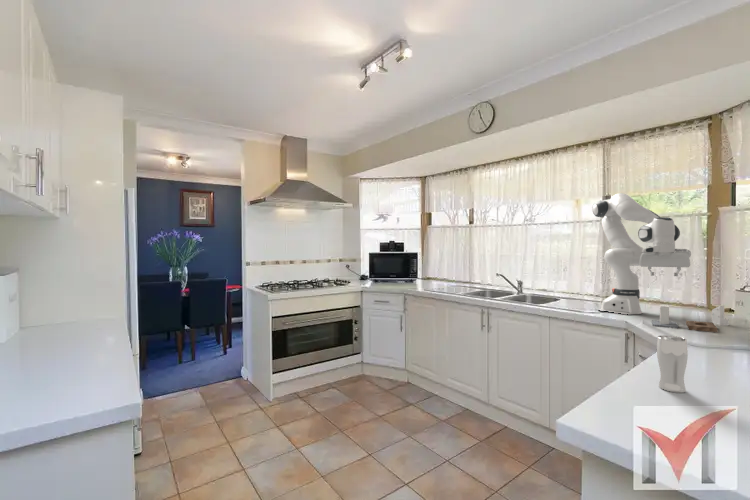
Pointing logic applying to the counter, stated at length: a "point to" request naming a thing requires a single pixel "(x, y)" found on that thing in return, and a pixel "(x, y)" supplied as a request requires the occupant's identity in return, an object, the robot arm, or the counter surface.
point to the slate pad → (671, 324)
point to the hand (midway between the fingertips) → (664, 275)
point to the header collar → (701, 326)
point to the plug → (664, 314)
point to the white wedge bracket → (719, 316)
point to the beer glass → (672, 362)
